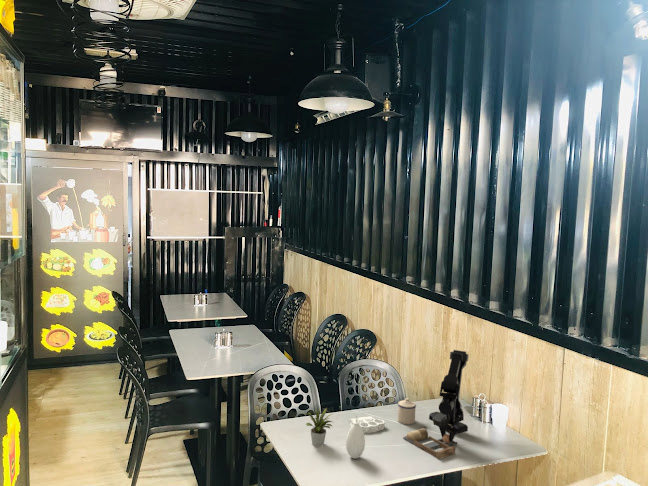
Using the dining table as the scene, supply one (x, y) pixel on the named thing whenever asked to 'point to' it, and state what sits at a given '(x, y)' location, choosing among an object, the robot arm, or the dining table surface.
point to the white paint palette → (369, 424)
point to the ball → (446, 438)
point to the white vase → (355, 440)
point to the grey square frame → (448, 444)
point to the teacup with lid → (406, 411)
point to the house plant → (318, 428)
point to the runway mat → (424, 443)
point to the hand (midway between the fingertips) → (446, 440)
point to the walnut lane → (441, 453)
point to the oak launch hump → (417, 435)
